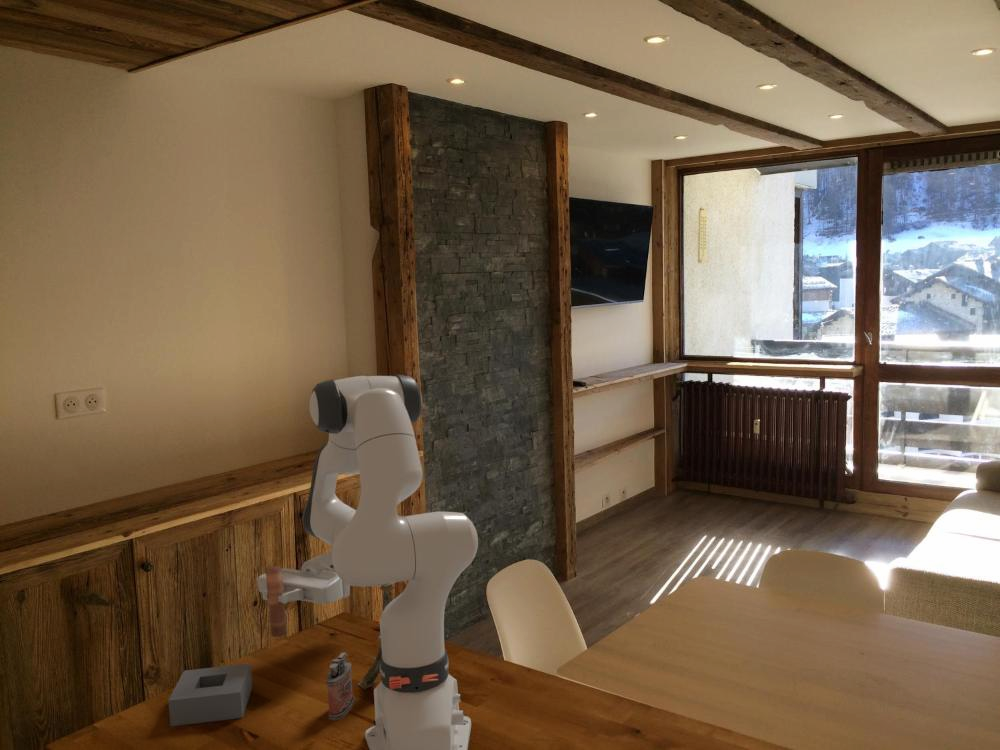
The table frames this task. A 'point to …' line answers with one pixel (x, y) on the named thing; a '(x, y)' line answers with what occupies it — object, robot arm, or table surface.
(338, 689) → the lighter
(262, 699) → the table surface
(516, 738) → the table surface
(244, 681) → the holder
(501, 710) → the table surface
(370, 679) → the eiffel tower
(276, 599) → the peg
